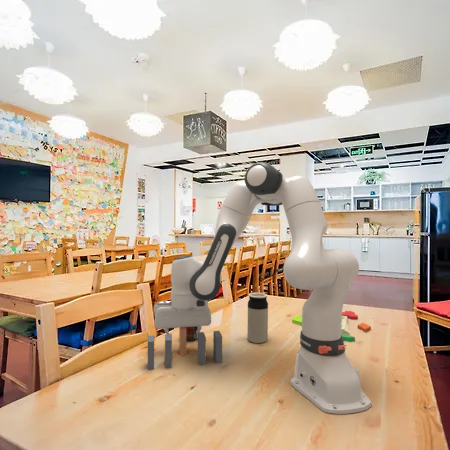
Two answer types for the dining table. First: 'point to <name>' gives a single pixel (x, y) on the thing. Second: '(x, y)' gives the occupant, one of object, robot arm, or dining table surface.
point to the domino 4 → (201, 348)
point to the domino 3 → (182, 340)
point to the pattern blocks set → (344, 325)
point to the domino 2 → (168, 351)
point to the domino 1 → (150, 352)
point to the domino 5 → (217, 347)
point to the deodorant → (191, 334)
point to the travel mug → (257, 318)
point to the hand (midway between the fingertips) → (182, 338)
